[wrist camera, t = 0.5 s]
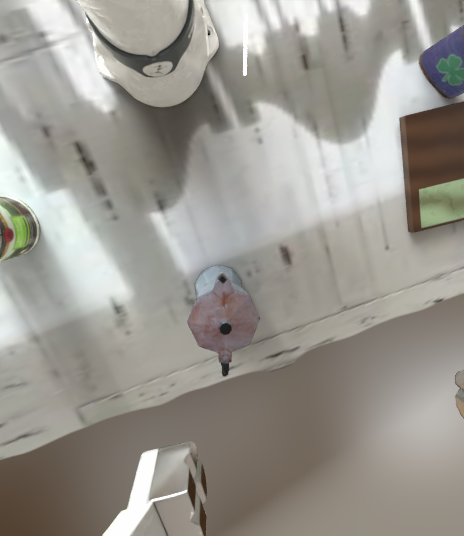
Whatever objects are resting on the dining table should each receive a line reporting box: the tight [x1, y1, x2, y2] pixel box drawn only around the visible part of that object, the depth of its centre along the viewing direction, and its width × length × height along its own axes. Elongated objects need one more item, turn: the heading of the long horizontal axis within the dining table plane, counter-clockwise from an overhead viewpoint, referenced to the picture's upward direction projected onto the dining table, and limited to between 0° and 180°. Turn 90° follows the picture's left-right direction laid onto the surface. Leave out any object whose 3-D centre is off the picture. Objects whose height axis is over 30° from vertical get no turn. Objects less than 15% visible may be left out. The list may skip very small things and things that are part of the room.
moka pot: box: [187, 265, 260, 377], centre depth 45 cm, size 10×15×20 cm, turn 5°
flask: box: [419, 25, 464, 98], centre depth 44 cm, size 9×3×11 cm, turn 47°
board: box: [400, 102, 464, 233], centre depth 52 cm, size 20×14×2 cm
